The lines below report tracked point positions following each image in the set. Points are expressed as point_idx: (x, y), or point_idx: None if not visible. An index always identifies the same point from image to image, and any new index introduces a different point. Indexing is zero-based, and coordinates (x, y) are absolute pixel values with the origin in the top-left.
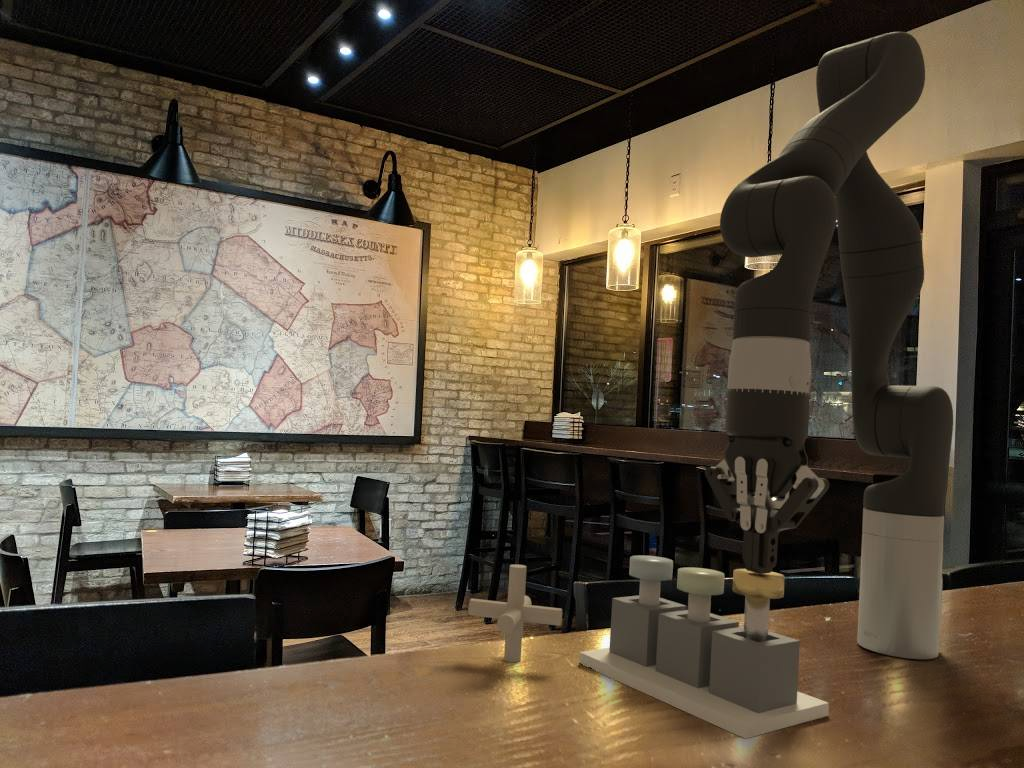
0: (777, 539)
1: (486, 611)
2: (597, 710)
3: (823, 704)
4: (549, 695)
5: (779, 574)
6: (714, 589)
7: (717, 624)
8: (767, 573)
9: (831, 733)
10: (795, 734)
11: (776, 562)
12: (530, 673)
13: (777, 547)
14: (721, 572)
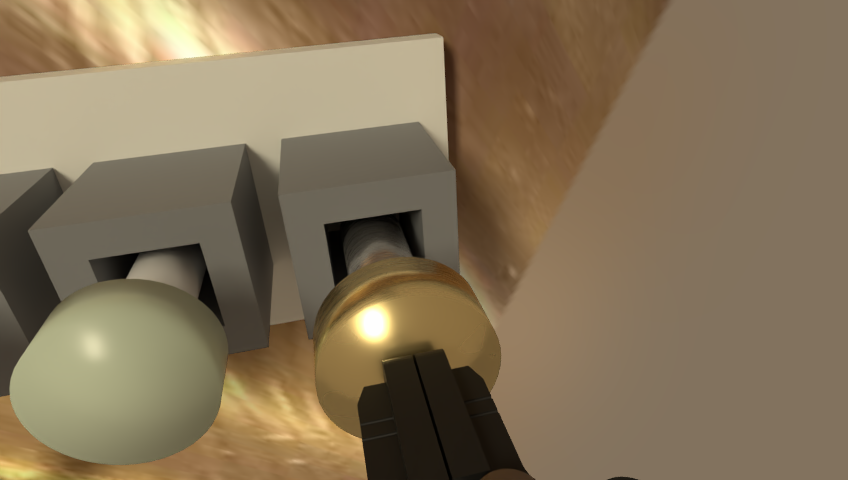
0: (517, 457)
1: None
2: (267, 423)
3: (443, 57)
4: (181, 463)
5: (446, 308)
6: (225, 361)
7: (249, 288)
8: (416, 339)
9: (498, 112)
10: (471, 184)
11: (483, 380)
12: (49, 461)
13: (504, 425)
14: (131, 323)
